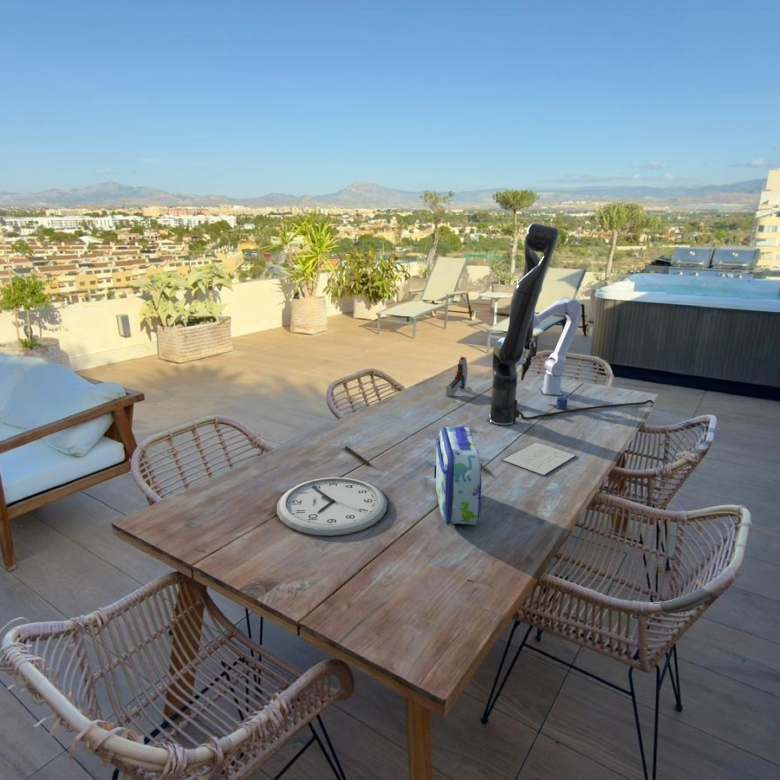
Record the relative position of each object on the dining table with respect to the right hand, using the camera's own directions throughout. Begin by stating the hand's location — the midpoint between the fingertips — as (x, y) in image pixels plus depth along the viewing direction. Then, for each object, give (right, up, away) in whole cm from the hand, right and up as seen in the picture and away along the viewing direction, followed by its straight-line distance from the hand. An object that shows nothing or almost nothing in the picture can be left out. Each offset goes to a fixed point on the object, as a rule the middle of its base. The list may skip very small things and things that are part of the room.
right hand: (513, 379), depth 241 cm
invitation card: (-7, -28, -67) cm, 73 cm away
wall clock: (-73, -36, -98) cm, 128 cm away
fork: (-29, -29, -72) cm, 83 cm away
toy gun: (-26, -6, +1) cm, 27 cm away
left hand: (-1, +7, -17) cm, 18 cm away
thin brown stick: (-68, -27, -68) cm, 100 cm away
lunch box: (-39, -37, -98) cm, 112 cm away
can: (+16, -13, -17) cm, 27 cm away
